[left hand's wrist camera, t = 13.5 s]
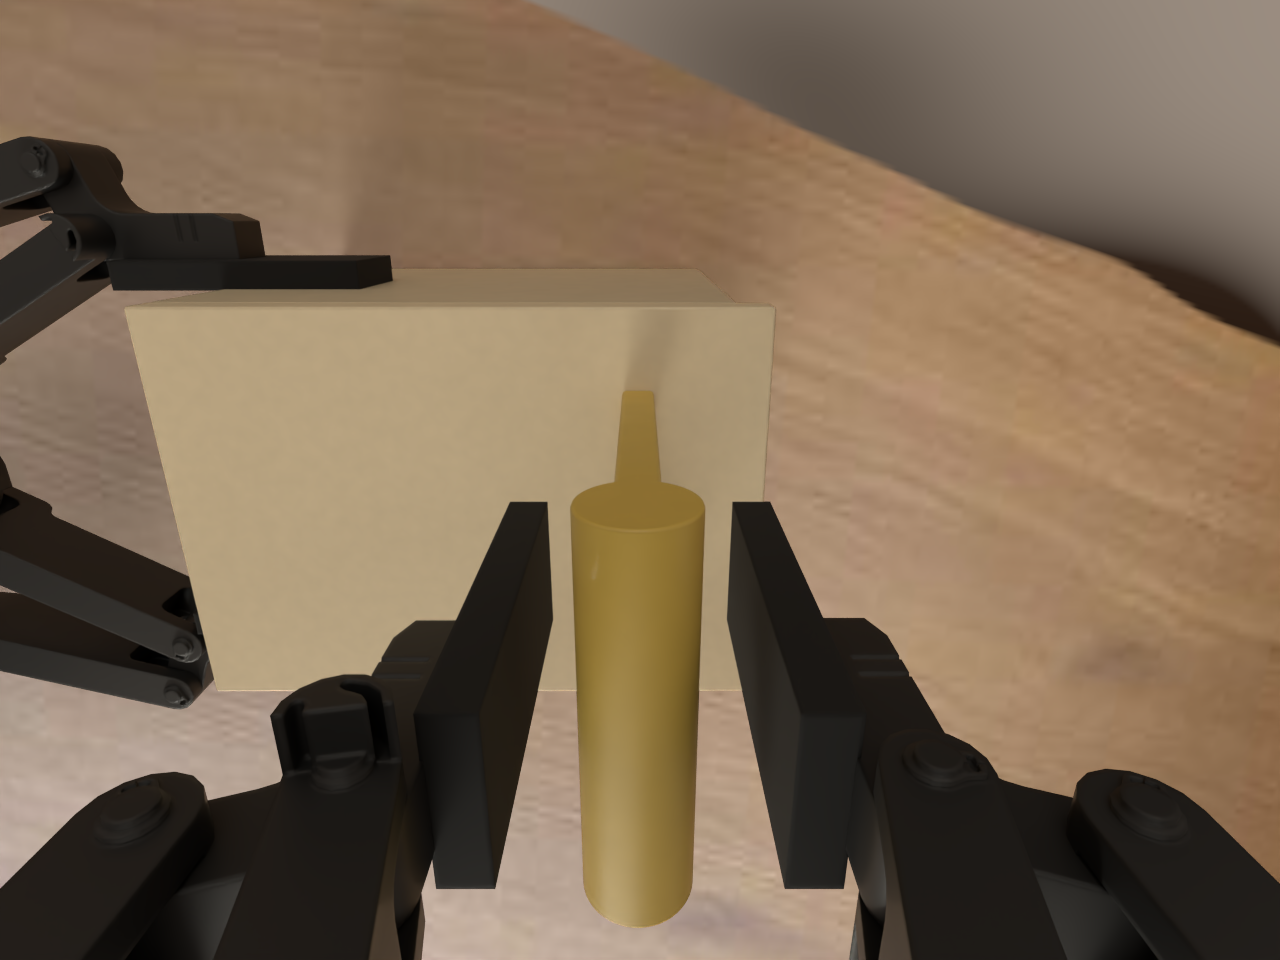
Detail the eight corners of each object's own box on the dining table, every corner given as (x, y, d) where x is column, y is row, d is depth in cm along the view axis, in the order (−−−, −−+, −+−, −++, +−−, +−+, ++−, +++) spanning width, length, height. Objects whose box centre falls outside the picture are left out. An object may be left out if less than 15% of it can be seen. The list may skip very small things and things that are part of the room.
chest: (698, 268, 26) (737, 302, 16) (691, 512, 30) (720, 672, 19) (341, 268, 26) (147, 302, 16) (375, 512, 30) (233, 672, 19)
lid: (770, 302, 16) (907, 392, 8) (747, 673, 19) (826, 1005, 11) (145, 302, 16) (-369, 391, 8) (232, 673, 19) (-64, 1006, 11)
